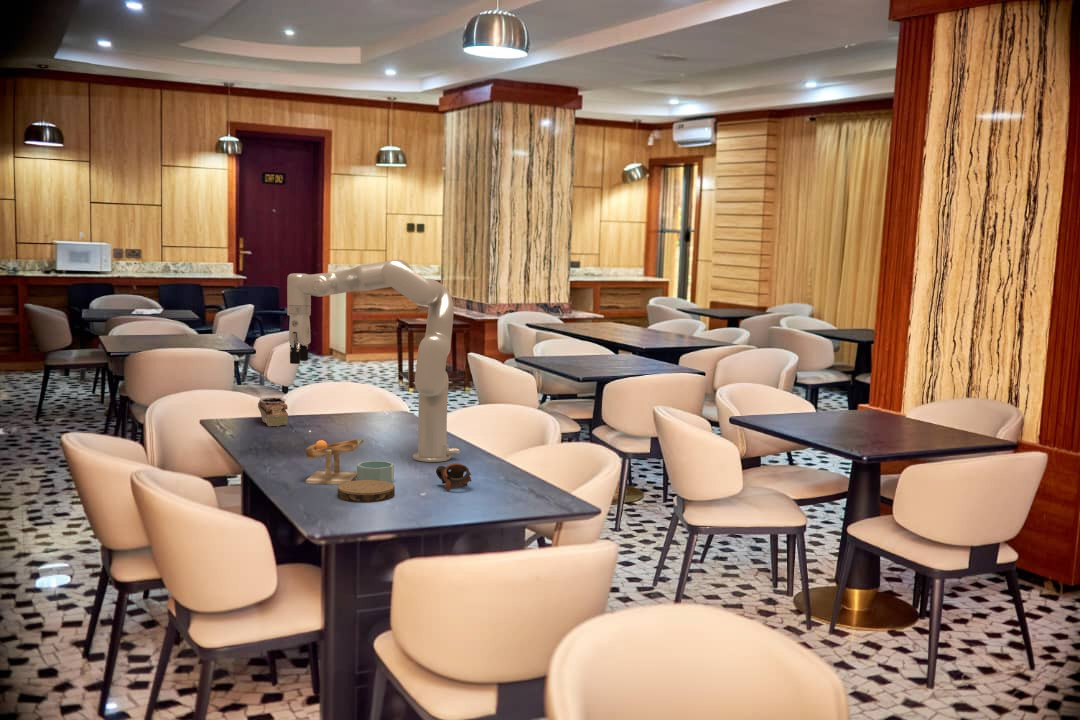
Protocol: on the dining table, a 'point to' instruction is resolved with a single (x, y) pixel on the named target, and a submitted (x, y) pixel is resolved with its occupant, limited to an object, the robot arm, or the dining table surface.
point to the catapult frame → (330, 476)
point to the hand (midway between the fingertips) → (299, 362)
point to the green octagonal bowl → (376, 471)
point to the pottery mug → (453, 475)
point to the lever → (333, 448)
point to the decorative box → (273, 411)
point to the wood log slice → (366, 491)
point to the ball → (320, 444)
